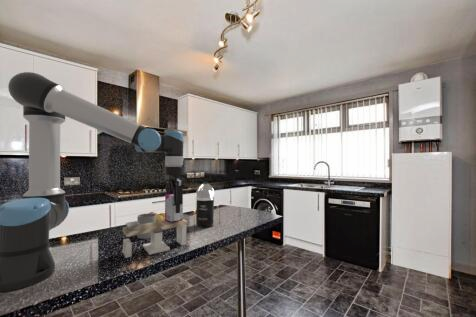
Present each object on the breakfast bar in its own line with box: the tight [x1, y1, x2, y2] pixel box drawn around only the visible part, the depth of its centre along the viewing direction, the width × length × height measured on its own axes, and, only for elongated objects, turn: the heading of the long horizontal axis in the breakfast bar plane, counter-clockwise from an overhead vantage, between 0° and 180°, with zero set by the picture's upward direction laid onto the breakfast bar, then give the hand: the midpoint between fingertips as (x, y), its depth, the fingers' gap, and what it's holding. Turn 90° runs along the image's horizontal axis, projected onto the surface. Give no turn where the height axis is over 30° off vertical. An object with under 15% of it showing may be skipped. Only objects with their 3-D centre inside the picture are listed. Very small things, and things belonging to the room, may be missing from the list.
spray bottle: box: [195, 181, 215, 228], centre depth 127 cm, size 10×10×25 cm
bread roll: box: [149, 211, 165, 222], centre depth 125 cm, size 13×10×8 cm
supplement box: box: [164, 193, 184, 223], centre depth 96 cm, size 6×6×12 cm
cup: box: [136, 212, 156, 240], centre depth 107 cm, size 8×8×10 cm
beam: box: [122, 219, 188, 238], centre depth 92 cm, size 24×9×4 cm, turn 127°
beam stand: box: [122, 225, 187, 259], centre depth 92 cm, size 24×10×8 cm, turn 127°
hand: (173, 218), depth 96 cm, fingers closed on supplement box, 6 cm apart
